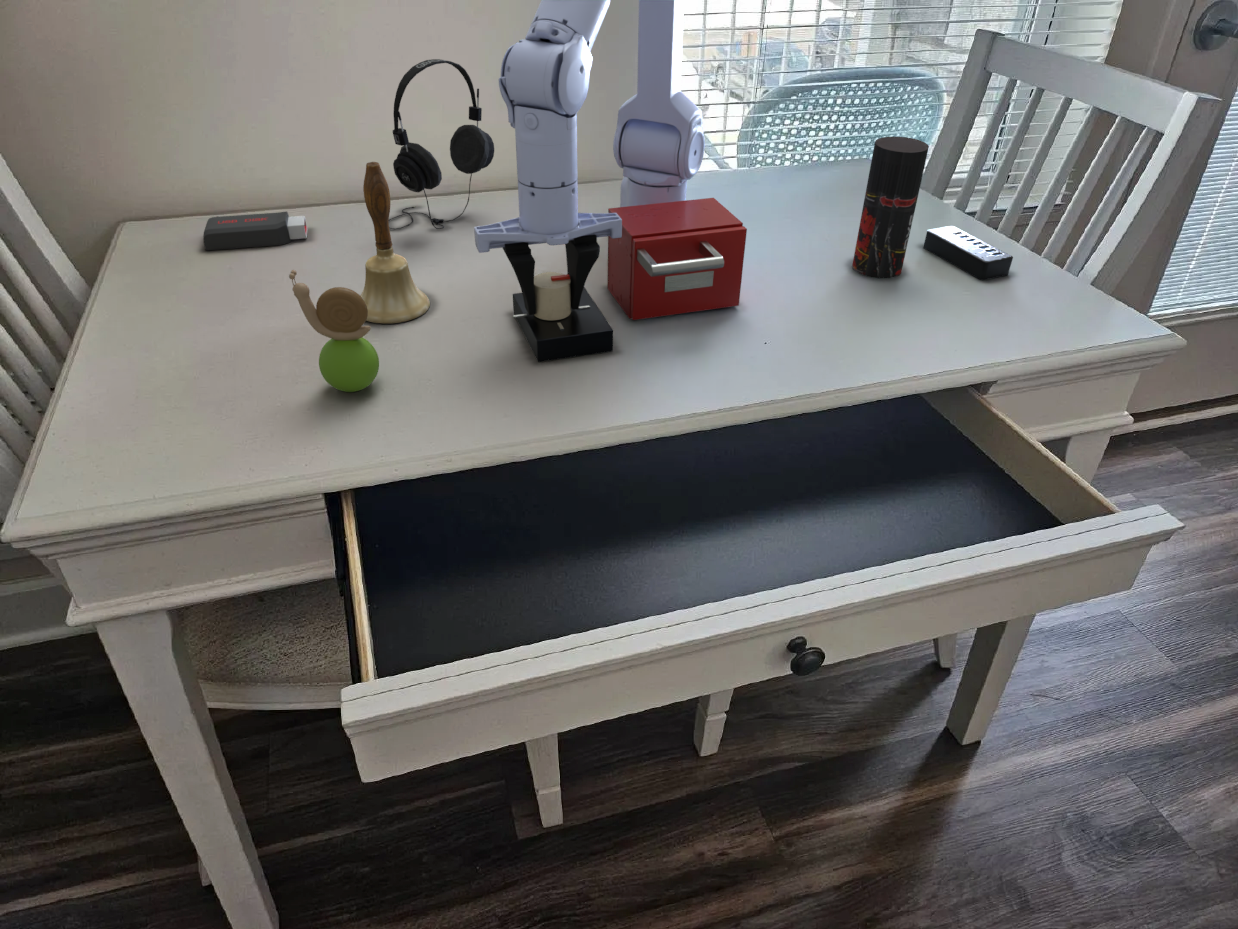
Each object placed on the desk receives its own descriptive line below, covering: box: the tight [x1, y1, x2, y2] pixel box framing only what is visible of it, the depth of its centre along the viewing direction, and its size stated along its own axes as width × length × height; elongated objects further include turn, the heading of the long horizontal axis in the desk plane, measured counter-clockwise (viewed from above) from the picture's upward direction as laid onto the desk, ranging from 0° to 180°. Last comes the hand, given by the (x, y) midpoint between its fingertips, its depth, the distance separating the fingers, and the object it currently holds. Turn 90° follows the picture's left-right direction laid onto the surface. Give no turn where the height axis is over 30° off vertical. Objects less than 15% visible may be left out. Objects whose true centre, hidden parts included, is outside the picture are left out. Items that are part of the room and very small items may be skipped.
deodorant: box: [852, 135, 930, 280], centre depth 105 cm, size 6×6×15 cm
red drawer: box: [631, 225, 748, 321], centre depth 94 cm, size 6×13×9 cm, turn 108°
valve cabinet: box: [607, 197, 744, 320], centre depth 99 cm, size 8×13×10 cm, turn 108°
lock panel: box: [512, 286, 614, 363], centre depth 94 cm, size 11×9×3 cm
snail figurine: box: [288, 269, 380, 393], centre depth 82 cm, size 5×6×12 cm
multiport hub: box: [922, 225, 1014, 281], centre depth 111 cm, size 4×11×2 cm, turn 25°
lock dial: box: [534, 271, 571, 321], centre depth 92 cm, size 4×4×4 cm
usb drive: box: [202, 210, 308, 251], centre depth 113 cm, size 5×12×3 cm, turn 104°
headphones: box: [389, 58, 495, 230], centre depth 114 cm, size 15×11×20 cm
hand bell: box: [359, 161, 431, 325], centre depth 94 cm, size 8×8×16 cm
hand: (551, 307), depth 93 cm, fingers closed on lock dial, 4 cm apart
